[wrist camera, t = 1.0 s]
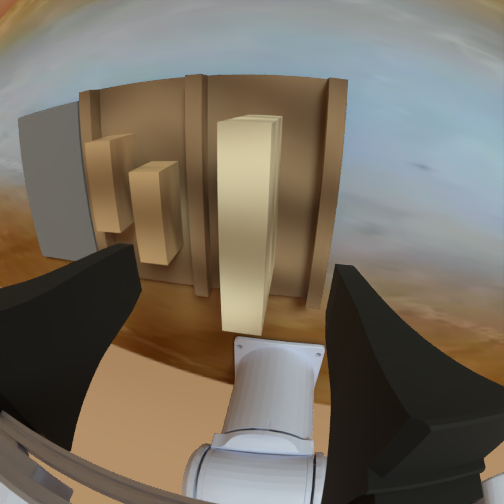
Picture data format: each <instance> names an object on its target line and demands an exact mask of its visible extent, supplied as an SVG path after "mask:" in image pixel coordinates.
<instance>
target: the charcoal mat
mask: <svg viewBox="0 0 504 504" xmlns="http://www.w3.org/2000/svg"><path fill="white" fill-rule="evenodd" d="M18 126H19V138H20V148H21V156H22V163H23V170H24V177H25V183H26V188H27V194H28V199H29V204H30V208H31V213H32V217H33V221H34V226H35V230H36V233H37V237H38V241H39V245H40V248H41V252H42V255H43V256H47V257H53V258H59V259H65V260H71V261H77V260H79V259H81V258H84V257H86V256H88V255H90V254H92V253H95V252H97V251H98V246H97V241H96V237H95V232H94V227H93V221H92V216H91V210H90V204H89V198H88V192H87V185H86V178H85V170H84V161H83V152H82V141H81V128H80V109H79V101H77V102H73V103H69V104H65V105H61V106H57V107H53V108H50V109H46V110H43V111H39V112H36V113H33V114H30V115H26V116H23V117H20V118H18Z"/></svg>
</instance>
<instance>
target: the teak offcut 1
mask: <svg viewBox="0 0 504 504" xmlns="http://www.w3.org/2000/svg"><path fill="white" fill-rule="evenodd" d="M85 153H86V162H87V171H88V179H89V186H90V193H91V200H92V206H93V212H94V217H95V223H96V228H97V231H101V232H114V233H121V232H122V231H124V230H125V229H126V228H127V227H128V226H130V225H131V224H132V223H133V222H134V216H133V208H132V200H131V191H130V182H129V172H130V171H132V170H134V169H136V155H135V139H134V133H133V134H121V135H111V136H107V137H104V138H100V139H97V140H94V141H90V142H87V143H85Z"/></svg>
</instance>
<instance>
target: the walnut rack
mask: <svg viewBox="0 0 504 504" xmlns="http://www.w3.org/2000/svg"><path fill="white" fill-rule="evenodd" d="M347 88H348V80H345V79H338V78H329V79H321V78H310V77H297V76H281V75H211V76H207V75H203V74H196V75H185V77H182V78H171V79H162V80H154V81H146V82H139V83H133V84H127V85H121V86H116V87H110V88H105V89H100V90H88V91H84V92H80V93H79V109H80V128H81V141H82V152H83V161H84V170H85V178H86V185H87V192H88V198H89V204H90V210H91V216H92V221H93V227H94V232H95V237H96V241H97V246H98V251H99V250H102V249H104V248H107V247H109V246H112V245H115V244H119V243H123V244H133V246H134V251H135V257H136V263H137V268H138V273H139V278H144V279H151V280H158V281H165V282H172V283H180V284H187V285H194V287H195V295H197V296H204V297H209V295H210V292H211V290H212V288H219V289H220V266H219V233H218V182H217V122H220V121H224V120H228V119H232V118H236V117H241V116H245V115H269V116H283V118H282V141H281V161H280V180H279V198H278V214H277V230H276V245H275V260H274V269H273V274H272V280H271V286H270V291H269V294H272V295H282V296H292V297H303V298H306V308H312V309H320V304H321V299H322V294H323V288H324V283H325V277H326V272H327V266H328V260H329V254H330V248H331V241H332V235H333V228H334V221H335V214H336V207H337V199H338V191H339V183H340V174H341V165H342V155H343V144H344V133H345V120H346V106H347ZM133 133H134V139H135V155H136V168H138V167H140V166H143V165H145V164H147V163H149V162H151V161H178V163H179V184H180V201H181V216H182V229H183V241H184V244H183V246H182V247H181V248H180V250H179V251H178V252H177V254H176V255H175V256H174V258H173V259H172V260H171V262H170V263H169V264H168V265H161V264H153V263H145V262H141V261H140V255H139V249H138V243H137V237H136V230H135V223H134V222H133V223H132V224H131V225H130V226H128V227H127V228H126V229H125V230H124V231H122V232H121V233H114V232H101V231H97V228H96V223H95V217H94V212H93V206H92V200H91V193H90V186H89V179H88V171H87V162H86V153H85V143H87V142H90V141H94V140H97V139H100V138H104V137H107V136H111V135H121V134H133Z"/></svg>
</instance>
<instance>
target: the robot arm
mask: <svg viewBox="0 0 504 504" xmlns="http://www.w3.org/2000/svg"><path fill="white" fill-rule="evenodd" d="M141 291H142V288H141V283H140V278H139V273H138V268H137V263H136V257H135V251H134V246H133V244H123V243H119V244H115V245H112V246H109V247H107V248H104V249H102V250H99V251H97V252H95V253H92V254H90V255H88V256H86V257H84V258H81V259H79V260H77V261H75V262H73V263H70V264H68V265H66V266H63V267H61V268H59V269H56V270H54V271H52V272H50V273H47V274H45V275H42V276H39V277H37V278H34V279H31V280H28V281H25V282H22V283H18V284H15V285H11V286H7V287H4V288H0V504H72V503H70V498H71V496H72V494H73V490H72V488H70V487H68V486H67V485H65V484H64V483H62V482H61V481H60V480H58V479H57V478H55V477H54V476H53V475H51V474H50V473H49V472H47V471H46V470H45V469H44V468H42V467H41V466H40V465H39V464H38V463H36V462H35V461H34V460H32V459H31V458H30V457H29V454H28V452H29V453H30V454H31V455H33V456H35V457H36V458H38V459H39V460H41V461H42V462H44V463H45V464H47V465H49V466H50V467H52V468H54V469H55V470H57V471H59V472H61V473H62V474H64V475H66V476H68V477H69V478H71V479H73V480H75V481H77V482H79V483H81V484H83V485H85V486H87V487H89V488H91V489H93V490H95V491H97V492H99V493H101V494H103V495H106V496H108V497H110V498H112V499H115V500H117V501H120V502H122V503H125V504H504V472H503V473H500V474H498V475H495V476H493V477H490V478H488V479H487V480H484V481H482V482H481V479H480V474H479V473H482V472H483V471H484V470H485V463H484V457H486V456H487V455H488V454H489V453H490V452H492V451H493V450H494V449H495V448H496V447H497V446H498V445H500V443H502V442H503V441H504V386H502V385H500V384H497V383H495V382H493V381H491V380H489V379H487V378H485V377H483V376H481V375H479V374H477V373H475V372H473V371H472V370H470V369H468V368H466V367H465V366H463V365H461V364H460V363H458V362H456V361H455V360H453V359H452V358H450V357H449V356H447V355H446V354H444V353H443V352H442V351H440V350H439V349H437V348H436V347H435V346H433V345H432V344H431V343H429V342H428V341H427V340H425V339H424V338H423V337H422V336H421V335H419V334H418V333H417V332H416V331H415V330H413V329H412V328H411V327H410V326H409V325H408V324H407V323H406V322H404V321H403V320H402V319H401V318H400V317H399V316H398V315H397V314H396V313H395V312H394V311H393V310H392V309H391V308H390V307H389V306H388V305H387V303H386V302H385V301H384V300H383V299H382V298H381V297H380V296H379V295H378V294H377V292H376V291H375V290H374V289H373V288H372V287H371V286H370V284H369V283H368V282H367V281H366V280H365V279H364V277H363V276H362V275H361V274H360V273H359V272H358V270H357V269H356V268H355V267H354V266H352V265H341V264H335V269H334V274H333V279H332V284H331V289H330V294H329V299H328V304H327V309H326V326H325V338H326V348H327V358H328V368H329V378H330V389H331V416H330V433H329V446H328V456H327V457H325V456H324V454H323V453H322V452H316V453H315V455H314V461H313V454H314V441H313V440H312V430H313V404H314V387H315V384H316V380H317V377H318V374H319V370H320V367H321V363H322V360H323V356H324V352H325V347H324V346H323V345H317V344H305V343H294V342H284V341H274V340H265V339H257V338H249V337H241V336H238V337H236V338H235V341H234V359H235V383H234V387H233V391H232V395H231V399H230V402H229V406H228V410H227V414H226V418H225V422H224V426H223V430H222V434H214V436H213V440H212V444H203V445H201V446H200V447H199V448H198V449H197V450H195V451H194V452H193V454H192V455H191V456H190V458H189V460H188V463H187V465H186V468H185V472H184V476H183V483H182V495H183V496H182V495H179V494H175V493H171V492H168V491H164V490H161V489H158V488H155V487H152V486H149V485H146V484H143V483H140V482H137V481H134V480H132V479H129V478H126V477H124V476H121V475H119V474H116V473H114V472H111V471H109V470H106V469H104V468H102V467H100V466H98V465H95V464H93V463H91V462H89V461H87V460H85V459H82V458H81V457H79V456H77V455H75V454H72V453H71V452H69V451H71V448H72V442H73V437H74V432H75V429H76V424H77V421H78V417H79V414H80V411H81V407H82V404H83V401H84V398H85V396H86V393H87V390H88V388H89V385H90V383H91V380H92V378H93V376H94V374H95V371H96V369H97V367H98V365H99V363H100V361H101V359H102V357H103V356H104V354H105V352H106V351H107V348H108V347H109V346H110V344H111V343H112V341H113V340H114V338H115V337H116V335H117V334H118V332H119V330H120V329H121V327H122V326H123V324H124V323H125V321H126V320H127V318H128V317H129V315H130V314H131V312H132V310H133V308H134V306H135V304H136V302H137V300H138V298H139V295H140V293H141ZM239 345H241V346H239ZM317 353H320V354H317Z"/></svg>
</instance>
